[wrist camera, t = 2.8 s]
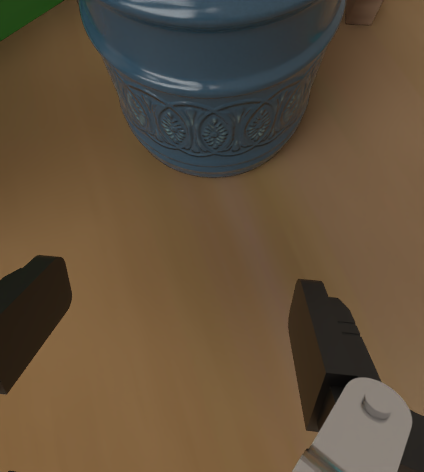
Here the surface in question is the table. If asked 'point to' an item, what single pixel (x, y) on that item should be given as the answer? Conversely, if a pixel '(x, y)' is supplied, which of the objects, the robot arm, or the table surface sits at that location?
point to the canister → (212, 74)
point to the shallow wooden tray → (359, 11)
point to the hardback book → (21, 13)
